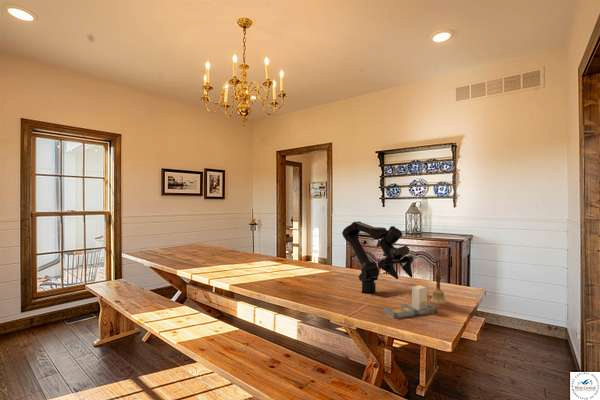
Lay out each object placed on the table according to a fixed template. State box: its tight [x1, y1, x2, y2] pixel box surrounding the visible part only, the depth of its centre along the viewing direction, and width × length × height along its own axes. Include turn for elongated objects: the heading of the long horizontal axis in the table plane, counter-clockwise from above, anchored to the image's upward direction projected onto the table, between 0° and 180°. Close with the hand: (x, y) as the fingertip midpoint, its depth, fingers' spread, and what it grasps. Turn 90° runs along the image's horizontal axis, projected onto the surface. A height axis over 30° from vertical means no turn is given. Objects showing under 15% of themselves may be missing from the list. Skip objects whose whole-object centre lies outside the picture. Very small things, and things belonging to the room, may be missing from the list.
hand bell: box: [429, 268, 448, 304], centre depth 149 cm, size 8×8×16 cm
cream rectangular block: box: [411, 284, 428, 310], centre depth 137 cm, size 4×4×10 cm
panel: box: [382, 303, 438, 319], centre depth 135 cm, size 21×11×3 cm, turn 107°
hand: (404, 277), depth 144 cm, fingers open, 9 cm apart
